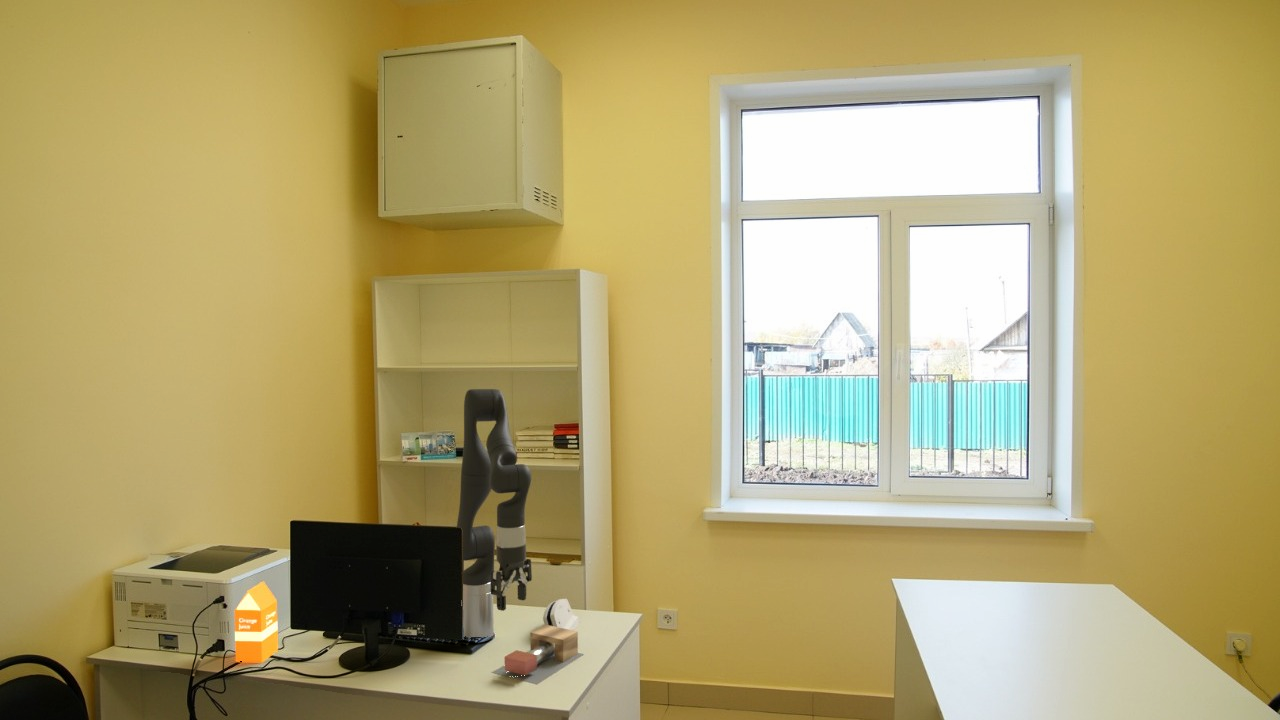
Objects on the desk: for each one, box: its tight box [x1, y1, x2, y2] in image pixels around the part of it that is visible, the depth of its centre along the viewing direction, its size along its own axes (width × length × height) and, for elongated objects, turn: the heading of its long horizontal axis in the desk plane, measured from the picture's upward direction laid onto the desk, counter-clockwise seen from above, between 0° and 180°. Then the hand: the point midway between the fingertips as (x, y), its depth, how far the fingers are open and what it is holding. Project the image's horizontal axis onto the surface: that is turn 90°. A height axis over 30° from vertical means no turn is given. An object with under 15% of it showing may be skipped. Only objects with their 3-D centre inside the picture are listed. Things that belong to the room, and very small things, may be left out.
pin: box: [504, 642, 554, 675], centre depth 220 cm, size 15×7×5 cm, turn 150°
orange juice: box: [234, 581, 279, 664], centre depth 229 cm, size 8×9×20 cm
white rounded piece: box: [542, 598, 581, 631], centre depth 247 cm, size 17×5×10 cm, turn 169°
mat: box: [491, 649, 585, 685], centre depth 223 cm, size 15×22×1 cm
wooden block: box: [529, 624, 579, 663], centre depth 229 cm, size 11×7×6 cm, turn 60°
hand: (511, 604), depth 209 cm, fingers open, 8 cm apart
